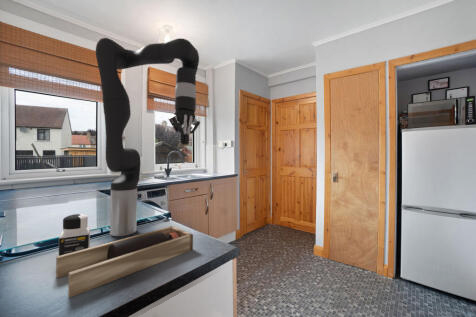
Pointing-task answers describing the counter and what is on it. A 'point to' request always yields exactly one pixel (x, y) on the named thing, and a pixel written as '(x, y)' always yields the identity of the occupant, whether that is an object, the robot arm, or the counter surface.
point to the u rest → (117, 261)
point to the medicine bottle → (74, 234)
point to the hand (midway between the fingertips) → (184, 144)
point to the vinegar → (138, 244)
